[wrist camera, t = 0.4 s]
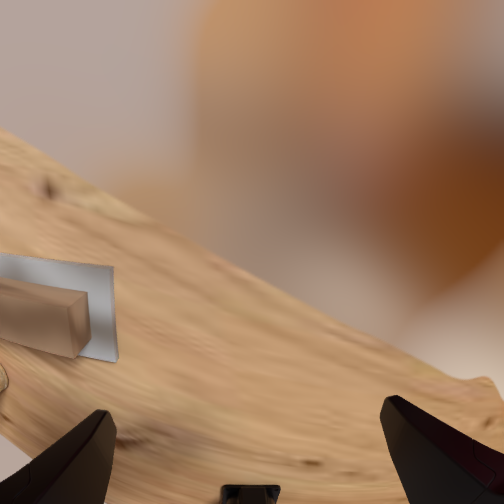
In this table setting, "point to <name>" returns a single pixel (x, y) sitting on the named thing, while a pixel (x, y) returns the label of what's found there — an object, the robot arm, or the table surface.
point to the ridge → (58, 306)
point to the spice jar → (3, 379)
